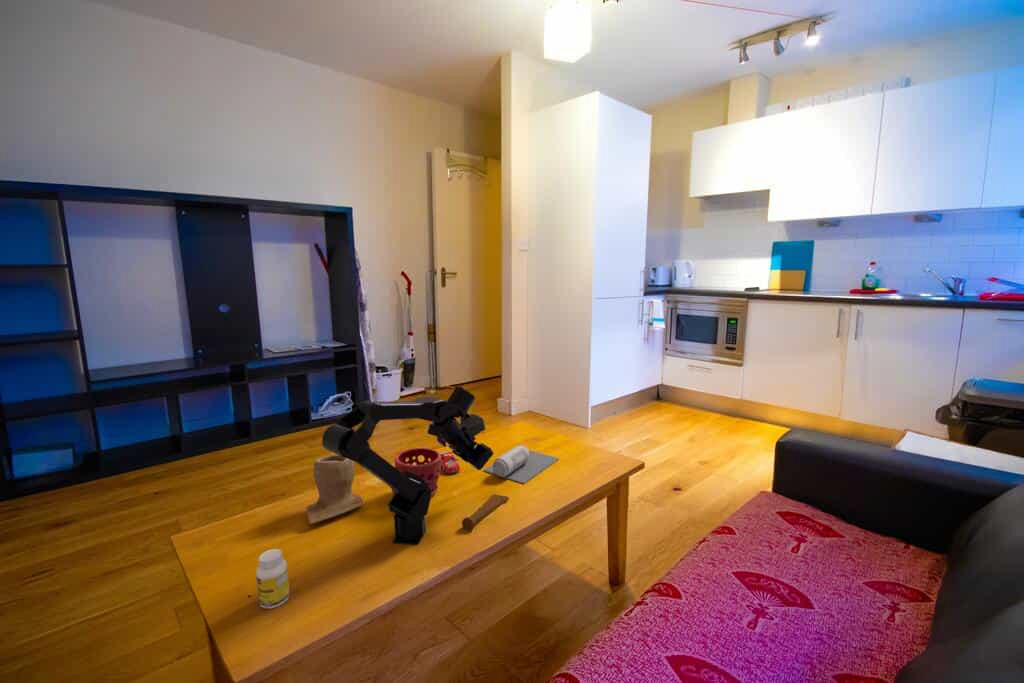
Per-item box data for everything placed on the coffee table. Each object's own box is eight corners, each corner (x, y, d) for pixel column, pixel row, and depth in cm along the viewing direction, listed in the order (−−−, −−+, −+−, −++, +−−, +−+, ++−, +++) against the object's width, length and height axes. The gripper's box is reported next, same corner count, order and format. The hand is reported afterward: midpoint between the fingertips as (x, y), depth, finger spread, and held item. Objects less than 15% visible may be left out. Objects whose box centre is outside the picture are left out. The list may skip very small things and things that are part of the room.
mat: (523, 484, 135) (523, 482, 135) (483, 471, 144) (483, 469, 144) (559, 459, 153) (559, 458, 153) (521, 449, 162) (521, 448, 162)
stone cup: (351, 493, 130) (348, 445, 128) (368, 509, 122) (365, 457, 119) (296, 512, 120) (291, 460, 118) (311, 530, 112) (306, 475, 109)
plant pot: (401, 509, 121) (399, 468, 119) (393, 488, 133) (391, 451, 131) (447, 499, 126) (445, 459, 125) (435, 480, 138) (434, 443, 137)
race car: (461, 474, 143) (461, 462, 142) (444, 477, 141) (444, 465, 140) (453, 458, 155) (452, 447, 154) (437, 460, 153) (437, 449, 153)
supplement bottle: (252, 605, 87) (247, 560, 85) (276, 587, 92) (271, 544, 90) (273, 613, 85) (268, 566, 83) (296, 593, 90) (292, 549, 88)
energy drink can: (494, 478, 140) (518, 461, 152) (509, 477, 136) (533, 460, 149) (489, 460, 140) (514, 444, 152) (504, 458, 136) (528, 443, 149)
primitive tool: (493, 495, 129) (493, 484, 129) (510, 499, 127) (510, 488, 127) (460, 530, 112) (460, 518, 111) (479, 536, 110) (479, 522, 109)
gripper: (493, 420, 114) (516, 452, 123) (451, 397, 127) (475, 428, 136) (465, 454, 110) (491, 485, 119) (424, 427, 123) (450, 456, 132)
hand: (477, 461), depth 127 cm, fingers closed
